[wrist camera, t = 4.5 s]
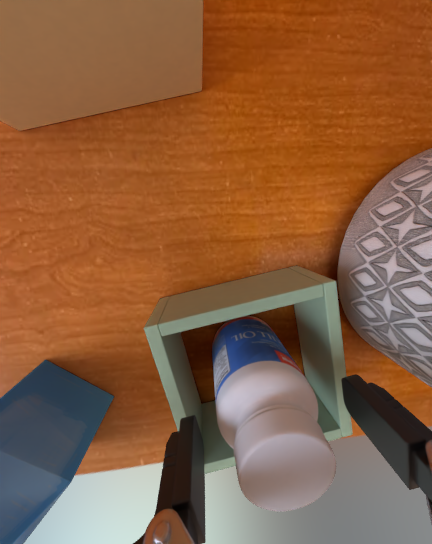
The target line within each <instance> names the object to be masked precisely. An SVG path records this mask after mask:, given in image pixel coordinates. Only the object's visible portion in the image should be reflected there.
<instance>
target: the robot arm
mask: <svg viewBox="0 0 432 544" xmlns="http://www.w3.org/2000/svg"><path fill="white" fill-rule="evenodd" d="M341 382H342V390H343V399H344V404H345V406H346V409H347V410H348V412H349V414H350V415H351V416H352V418H353V419H354V420H355V421H356V423H357V424H358V425H359V427H360V428H361V429H362V430H363V432H364V433H365V434H366V435H367V437H368V438H369V439H370V440H371V441H372V443H373V444H374V445H375V447H376V448H377V449H378V451H379V452H380V453H381V454H382V455H383V457H384V458H385V459H386V461H387V462H388V463H389V464H390V466H391V467H392V468H393V469H394V471H395V472H396V473H397V474H398V476H399V477H400V478H401V480H402V481H403V482H404V483H405V485H406V486H407V487H408V488H409V490H411V489H415V488H419V487H420V488H421V490H422V491H423V492H424V493H425V494H426V499H427V505H428V509H429V514H430V519H431V523H432V431H431V430H430V429H428V428H427V427H426V426H425V425H424V424H423V423H422V422H421V421H420V420H418V419H417V418H416V417H415V416H414V415H413V414H412V413H411V412H409V411H408V410H407V409H406V408H405V407H403V406H402V405H401V404H400V403H399V402H398V401H397V400H395V399H394V397H392V396H391V395H390V394H389V393H388V392H387V391H386V390H385V389H383V388H381V387H379V386H377V385H376V384H374V383H368V384H367V383H366V382H365V381H364V380H363V379H362V378H361V377H360V376H358V375H352V376H348V377H344V378H342V379H341ZM204 478H205V477H204V444H203V439H202V435H201V432H200V428H199V425H198V422H197V419H196V416H195V415H192V416H188V417H184V418H181V420H180V428H179V431H178V432H174V433H172V434H171V436H170V438H169V440H168V442H167V444H166V451H165V458H164V463H163V469H162V476H161V482H160V489H159V494H158V502H157V507H156V512H155V515H154V518H153V519H152V520H151V522H150V524H149V525H148V527H147V529H146V532H145V533H144V535H143V536H142V537H141V538H140V539H139V540H137V541H136V542H135V543H133V544H202V543H205V480H204Z"/></svg>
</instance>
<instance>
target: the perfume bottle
mask: <svg viewBox="0 0 432 544" xmlns="http://www.w3.org/2000/svg"><path fill="white" fill-rule="evenodd" d="M113 398H114V396H113V395H111V394H109V393H107V392H105V391H103V390H101V389H100V388H98V387H96V386H94V385H92V384H90V383H88V382H86V381H85V380H83V379H81V378H79V377H77V376H75V375H73V374H71V373H70V372H68V371H66V370H64V369H62V368H60V367H58V366H56V365H55V364H53V363H51V362H49V361H47V360H44V361H43V362H42V363H41V364H40V365H39V366H37V367H36V368H35V369H34V370H33V371H32V372H31V373H29V374H28V375H27V376H26V377H25V378H24V379H22V380H21V381H20V382H19V383H18V384H17V385H15V386H14V387H13V388H12V389H11V390H10V391H8V392H7V393H6V394H5V395H4V396H3V397H1V398H0V544H23V543H24V542H25V541H26V539H27V538H28V537H29V536H30V534H31V533H32V532H33V530H34V529H35V528H36V527H37V525H38V524H39V523H40V521H41V520H42V519H43V518H44V516H45V515H46V514H47V512H48V511H49V510H50V508H51V507H52V506H53V504H54V503H55V502H56V501H57V499H58V498H59V497H60V496H61V494H62V493H63V492H64V490H65V489H66V488H67V487H68V485H69V484H70V483H71V481H72V479H73V477H74V475H75V473H76V471H77V469H78V467H79V465H80V463H81V461H82V459H83V457H84V455H85V453H86V451H87V449H88V447H89V446H90V444H91V442H92V440H93V438H94V436H95V434H96V432H97V430H98V428H99V426H100V424H101V422H102V420H103V418H104V416H105V414H106V412H107V410H108V408H109V406H110V404H111V402H112V400H113Z"/></svg>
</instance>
